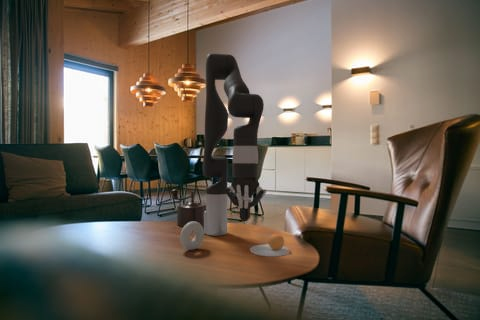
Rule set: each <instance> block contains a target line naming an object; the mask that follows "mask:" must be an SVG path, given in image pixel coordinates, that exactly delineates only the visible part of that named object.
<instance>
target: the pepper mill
mask: <svg viewBox="0 0 480 320" xmlns="http://www.w3.org/2000/svg"><path fill="white" fill-rule="evenodd" d="M194 192H195V191H193V190H191V192H190V195H188V196H186V197H183V198H179V196H178V195H179V189H176V188H174V189H171V190H170V193H169V194H170V195H171V196H172V199H171V200H176V201H185V200H186V201H185V202H186V203H184V204H182V205H179V206H178V205H177V214H176V215H177V217H176V218H177V224H176V225H177V226H179V227H182V228H183V227H184V226H185V225H186V224H187V223H189V222H192V221H196V222H198V223H200V224H201V225H202V227H204V211H206V205H204V204H199V203H198V202H195V201H194ZM190 198H191V199H190ZM189 199H190V201H188V200H189Z"/></svg>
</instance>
